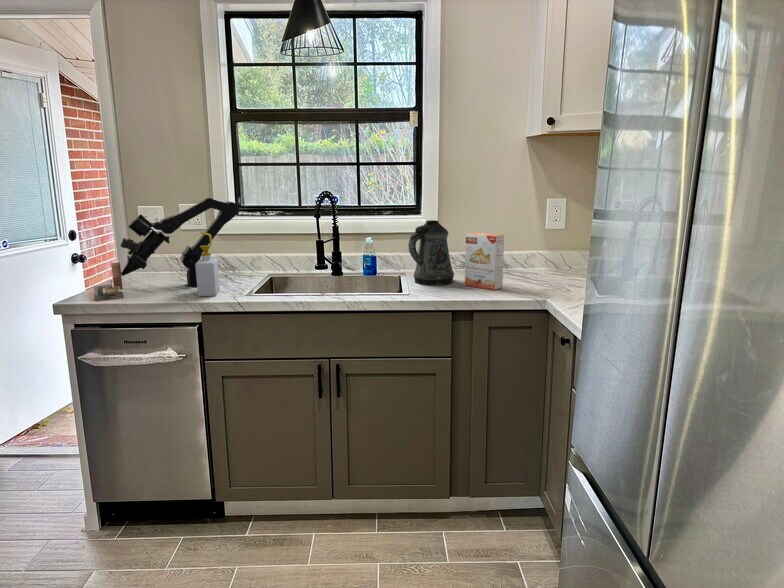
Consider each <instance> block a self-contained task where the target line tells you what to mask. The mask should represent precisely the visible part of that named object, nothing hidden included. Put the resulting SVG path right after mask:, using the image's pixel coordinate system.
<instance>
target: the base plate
mask: <svg viewBox="0 0 784 588" xmlns="http://www.w3.org/2000/svg"><path fill="white" fill-rule="evenodd" d="M93 295H94V296H93V297H94V302H98V301H99V302H100V301H101V300H102V301H110V299H112V300H120V298H121V299H124V297H125V296H124V293H123V290H119V291H118V292H116V294H115V295H106V293H105V292H103V295H100V296H96V295H95V293H94V294H93ZM102 301H101V302H102Z"/></svg>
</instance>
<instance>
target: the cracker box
mask: <svg viewBox="0 0 784 588" xmlns="http://www.w3.org/2000/svg"><path fill="white" fill-rule="evenodd" d="M504 245H505V235H503V234H494V233H484V232H476V231H474V232H467V233H465V266H464V267H465V269H464V273H465V275H464V286H465V287H466V286H468V287H473V288H479V289H485V290H492V291H496V290H500V289H502V288H503V283H504V282H503V279H504V252H505V249H504V248H505V246H504Z"/></svg>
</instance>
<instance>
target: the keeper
mask: <svg viewBox="0 0 784 588" xmlns="http://www.w3.org/2000/svg"><path fill="white" fill-rule="evenodd" d="M106 282H107V283H104V284H98V285H94V286H93V292H94V294H95V295H96V296H100V295H103V293H104V292H103V290H105V289H106V288H112V287H113V280H107V281H106Z"/></svg>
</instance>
